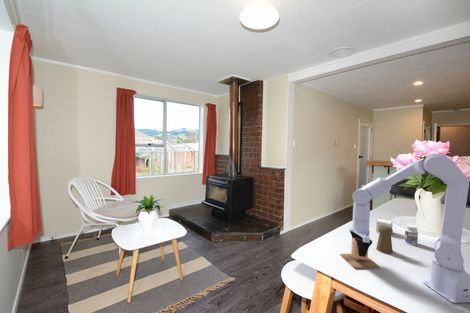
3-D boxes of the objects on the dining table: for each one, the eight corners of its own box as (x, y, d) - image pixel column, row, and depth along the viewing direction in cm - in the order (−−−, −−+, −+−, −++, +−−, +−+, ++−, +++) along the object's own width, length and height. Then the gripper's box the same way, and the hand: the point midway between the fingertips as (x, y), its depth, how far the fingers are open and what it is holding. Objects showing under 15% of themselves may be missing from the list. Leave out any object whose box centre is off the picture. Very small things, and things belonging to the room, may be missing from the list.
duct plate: (380, 268, 81) (380, 257, 81) (354, 269, 81) (355, 258, 80) (362, 254, 91) (363, 245, 91) (340, 255, 91) (340, 245, 90)
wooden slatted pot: (368, 255, 86) (369, 240, 86) (365, 261, 82) (366, 245, 82) (353, 250, 90) (353, 236, 89) (349, 255, 86) (350, 241, 85)
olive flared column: (395, 254, 92) (397, 229, 91) (379, 253, 93) (381, 228, 92) (388, 247, 97) (389, 224, 97) (373, 246, 99) (375, 223, 98)
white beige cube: (376, 232, 115) (376, 221, 115) (378, 229, 119) (379, 218, 119) (389, 235, 111) (390, 224, 110) (392, 232, 115) (392, 221, 115)
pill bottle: (404, 239, 106) (405, 223, 105) (417, 242, 103) (418, 225, 102) (404, 243, 102) (405, 226, 101) (417, 246, 99) (418, 228, 98)
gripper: (345, 212, 93) (344, 242, 94) (355, 224, 79) (353, 260, 80) (363, 213, 91) (362, 244, 92) (376, 226, 77) (375, 263, 78)
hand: (359, 252), depth 86 cm, fingers closed on wooden slatted pot, 5 cm apart
